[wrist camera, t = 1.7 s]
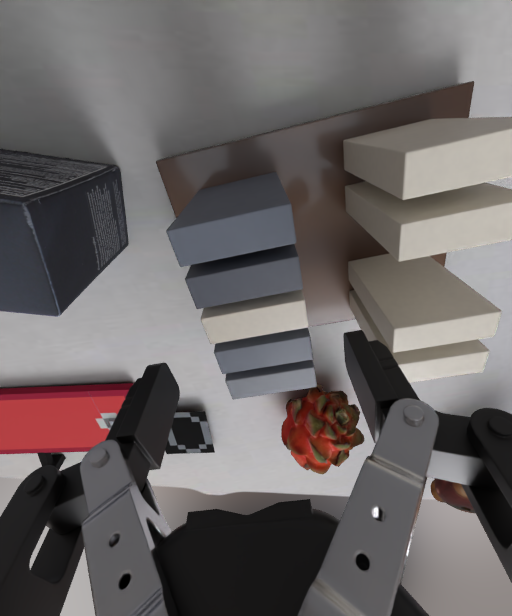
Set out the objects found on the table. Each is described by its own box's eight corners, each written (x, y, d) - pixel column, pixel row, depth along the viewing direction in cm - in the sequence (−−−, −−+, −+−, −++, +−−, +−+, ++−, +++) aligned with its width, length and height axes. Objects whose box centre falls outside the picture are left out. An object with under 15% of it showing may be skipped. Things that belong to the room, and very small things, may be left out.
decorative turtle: (526, 416, 36) (586, 485, 30) (455, 469, 45) (490, 530, 39) (460, 411, 35) (509, 482, 29) (400, 466, 44) (427, 530, 38)
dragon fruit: (323, 352, 32) (312, 407, 40) (265, 393, 29) (265, 444, 37) (390, 407, 27) (361, 457, 35) (328, 465, 23) (312, 506, 31)
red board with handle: (217, 453, 40) (199, 377, 32) (214, 474, 38) (194, 397, 30) (12, 459, 41) (-55, 387, 33) (-3, 480, 39) (-79, 407, 31)
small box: (-3, 234, 23) (-162, 304, 14) (-38, 142, 19) (-278, 158, 11) (131, 250, 24) (59, 324, 15) (121, 164, 20) (19, 196, 11)
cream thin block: (218, 253, 22) (200, 319, 15) (287, 238, 22) (304, 299, 14) (224, 273, 23) (210, 344, 16) (290, 259, 23) (308, 327, 15)
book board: (161, 158, 20) (155, 161, 19) (459, 83, 18) (474, 80, 17) (223, 332, 29) (221, 342, 27) (429, 296, 26) (438, 304, 25)
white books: (342, 140, 18) (405, 152, 11) (431, 118, 18) (565, 115, 10) (349, 307, 25) (390, 386, 18) (413, 296, 25) (483, 372, 17)
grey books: (198, 189, 20) (165, 230, 12) (276, 171, 19) (291, 202, 12) (238, 319, 26) (232, 400, 18) (298, 308, 25) (317, 387, 18)
